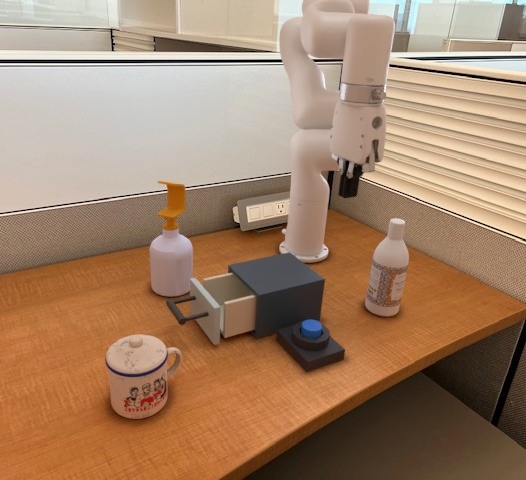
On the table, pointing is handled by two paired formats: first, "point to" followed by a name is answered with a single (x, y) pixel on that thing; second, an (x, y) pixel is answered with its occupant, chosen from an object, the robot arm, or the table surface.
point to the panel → (310, 347)
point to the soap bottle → (171, 249)
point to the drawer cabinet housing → (281, 291)
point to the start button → (311, 329)
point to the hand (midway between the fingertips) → (347, 195)
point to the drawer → (219, 306)
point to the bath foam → (388, 272)
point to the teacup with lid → (139, 375)
